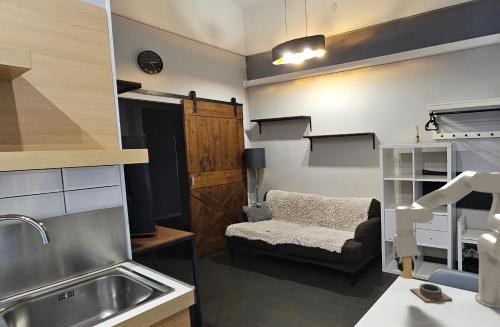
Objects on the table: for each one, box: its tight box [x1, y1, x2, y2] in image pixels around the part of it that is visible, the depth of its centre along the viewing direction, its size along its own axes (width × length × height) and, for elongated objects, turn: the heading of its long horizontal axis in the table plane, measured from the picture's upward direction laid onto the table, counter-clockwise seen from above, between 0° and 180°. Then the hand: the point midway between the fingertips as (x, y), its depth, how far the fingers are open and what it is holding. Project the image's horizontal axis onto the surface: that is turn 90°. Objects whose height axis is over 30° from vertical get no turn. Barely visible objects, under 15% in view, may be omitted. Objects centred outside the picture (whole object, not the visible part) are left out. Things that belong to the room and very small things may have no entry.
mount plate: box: [410, 283, 453, 303], centre depth 150 cm, size 13×12×4 cm
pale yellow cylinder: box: [399, 256, 413, 280], centre depth 148 cm, size 5×5×10 cm
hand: (406, 269), depth 148 cm, fingers closed on pale yellow cylinder, 5 cm apart
